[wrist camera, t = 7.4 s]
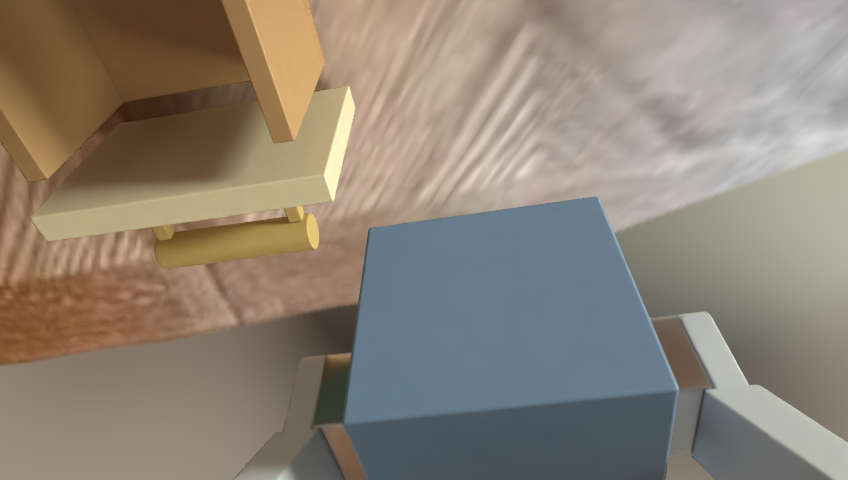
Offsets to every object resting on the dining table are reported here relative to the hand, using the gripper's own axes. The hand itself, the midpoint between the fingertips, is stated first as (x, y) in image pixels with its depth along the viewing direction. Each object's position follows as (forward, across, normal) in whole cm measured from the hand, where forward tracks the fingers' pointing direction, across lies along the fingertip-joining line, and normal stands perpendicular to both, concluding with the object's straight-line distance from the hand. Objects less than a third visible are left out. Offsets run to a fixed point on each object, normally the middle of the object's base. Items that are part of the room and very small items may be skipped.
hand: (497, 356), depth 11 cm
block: (+2, 0, 0) cm, 2 cm away
